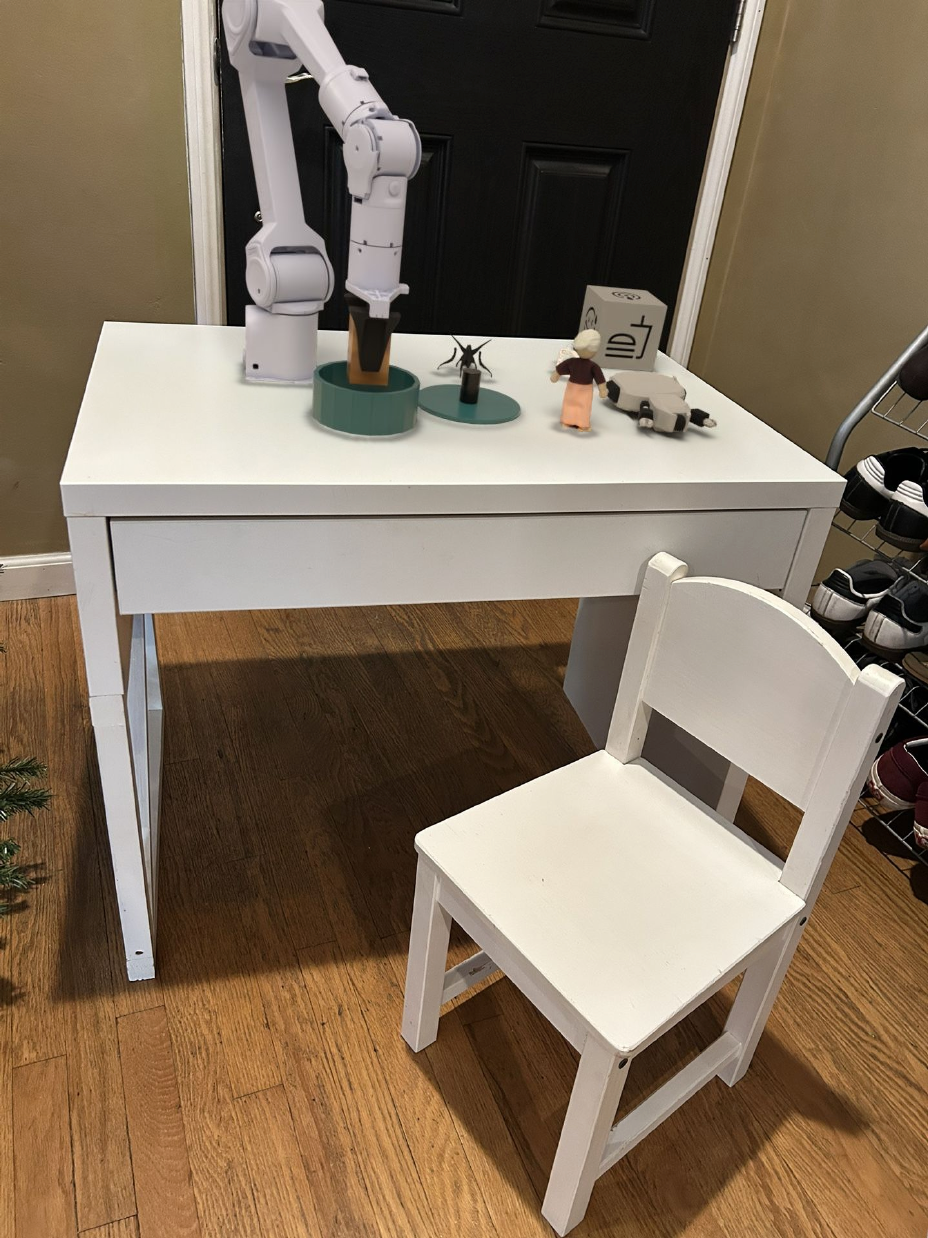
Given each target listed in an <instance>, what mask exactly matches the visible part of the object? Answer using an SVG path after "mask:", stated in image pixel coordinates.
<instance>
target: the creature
mask: <svg viewBox="0 0 928 1238" xmlns="http://www.w3.org/2000/svg"><path fill="white" fill-rule="evenodd" d="M449 335H450V336H451V337H452V338H453V340H454V341H455V342H456V344H457V346H458V347H459V349H460V351H461V352H462V355H461V356H460V358H459V359H458V360H457V362H456V364H455V368H458V365H459V363H460V366H459V373H460V374H459V379H462V373H463V369H464V367H466V368H471V366H472V364H474V369H478V366H477V362H476V360H475V357H474V356H475V355H477V353H478V360H477V361H478V364H479V366H480V367H481V368H482V369H484V370H485V371H487V372H488V373H489V374H490V378H493V373H492V372H491V371H490V369H489V368H488V367H487V366H486V365H485V364H484V363H483V362H482V351H481V349H482V348H483V347H484V346H485V345H487V344H488V343H490V342H491V341H492V340H493V339H488V340H487V341H485V342H483V343H482V344H480V345H478V346H477V347H476V348H474V349H473V348H472V345H471V344H467V345H466V347H464V346H463V345H462V343H461V342H460V341H458V339H457V338H456V337H455V336H454V335H453V334H452V333H449ZM457 350H458V348H457V347H456V346H455V347H453V354H452V356H451V358H449V359H448V360H446V361H443V362H442V363H440V364H439V365H438V366H437V371H438V370H439V368H440V367H442V366H443V365H446V364H449V363H452V362H453V361H454V360H455V358H456V356H457Z"/></svg>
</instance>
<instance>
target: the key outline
mask: <svg viewBox="0 0 928 1238" xmlns="http://www.w3.org/2000/svg"><path fill="white" fill-rule="evenodd" d="M564 355H568V356H569V358H573V357H576V358H579V355H578V354H577V351H576V350H571V349H567V348H565V349H559V350H558V358H557V362H556V365H555V367H556V366H557V365H558V364H560V363H561V362H563V361H564V360H565V359H564ZM561 377H566V378H569V377H570V375H562V376H561ZM593 382H595V380H594V379H593Z"/></svg>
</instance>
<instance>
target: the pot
mask: <svg viewBox="0 0 928 1238" xmlns="http://www.w3.org/2000/svg"><path fill="white" fill-rule="evenodd" d="M312 382H313V383H312V400H311V402H312V403H311V415H312V418H313V419H314V420H315V421H316V422H318V423H319V424H320V425H322V426H325V427H327V428H329V429H331V430H334V431H338V432H341V433H342V432H343V433H346V434H351V435H356V436H357V435H358V436H369V437H375V436H379V437H381V436H382V437H383V436H392V435H393V436H394V435H398V434H403V433H406V432H408V431H410V430H412V429H414V427H415V426H416V424H417V421H418V409H419V406H418V400H419V390H421V389H420V388H421V381H420V379H419V377H418V376H417V375H416V374H414V373H413V372H411V371H410V370H408V369H406V368H405V369H404V368H402V367H401V366H397V365H393V364H389V372H388V385H387V386H386V385H369V384H351V383H350V382H349V378H348V375H347V359H344V360H336V361H335V360H334V361H328V362H325V363H322V364H319V365H317V368H316V369H315V370H314V371H313V381H312Z"/></svg>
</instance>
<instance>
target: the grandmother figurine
mask: <svg viewBox="0 0 928 1238" xmlns="http://www.w3.org/2000/svg"><path fill="white" fill-rule="evenodd" d="M578 333H579V332H578ZM600 339H601V337H600V334H599V333H598V332H597V331H595V330H592V329H588V330H584V331H583V332H580V333H579V334H577V335H576V336H575V337H574V339H573V343H571V346H572V347H573V349H575V351H576V353H577V354H578V355H579V358H576V357H573V358H571V357H569V358H566V359H563V362H561V363H560V364H558V365H557V366H556V365H555V370H554V371H553V373H552V375H550V378H549V380H550V382H551V383H554V384H556V383H557V382H558V381H559V380H560V378H561V377H563V376H562V375H570V377H568V379H567V381H566V386H565V390H564V395H563V399H562V406H561V415H560V421H561V423H560V425H561V426H562V427H564V428H569V427H572V426H577V428H576V431H579V432H590V431H592V430H593V428H592V426H590V422H591V416H592V405H593V399H594V390H595V389H594V382H595V384H596V386H597V389H598V396H599V398H600V399H606V398H608V397H607V392H606V382H607V380H606V377H605V374H604V372H603V369H602V368H601V367H600V366H599V365H598V364H596V363H595V362H593V361H591V360H589V359H591V358H593V357H594V356H595V355H596V353H597V350H598V347H599V344H600V343H601V342H600ZM594 380H595V381H594Z"/></svg>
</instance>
